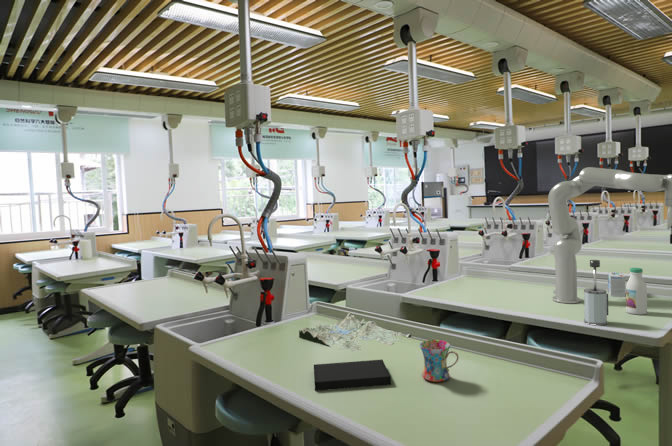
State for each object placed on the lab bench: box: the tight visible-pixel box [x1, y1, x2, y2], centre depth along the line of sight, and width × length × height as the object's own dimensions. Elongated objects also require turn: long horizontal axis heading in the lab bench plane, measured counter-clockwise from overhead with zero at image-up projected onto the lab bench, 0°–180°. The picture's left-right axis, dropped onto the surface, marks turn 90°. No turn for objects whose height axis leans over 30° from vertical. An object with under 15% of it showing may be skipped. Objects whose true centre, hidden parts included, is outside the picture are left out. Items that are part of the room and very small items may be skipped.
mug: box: [419, 339, 460, 383], centre depth 135 cm, size 12×9×11 cm
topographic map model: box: [298, 312, 412, 352], centre depth 180 cm, size 36×29×5 cm
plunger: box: [589, 259, 601, 291], centre depth 182 cm, size 6×6×15 cm
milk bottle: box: [625, 267, 648, 316], centre depth 194 cm, size 8×8×20 cm
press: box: [583, 287, 609, 326], centre depth 183 cm, size 8×9×14 cm
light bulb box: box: [607, 272, 626, 298], centre depth 228 cm, size 11×7×11 cm, turn 154°
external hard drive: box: [313, 359, 392, 392], centre depth 139 cm, size 14×23×3 cm, turn 94°
